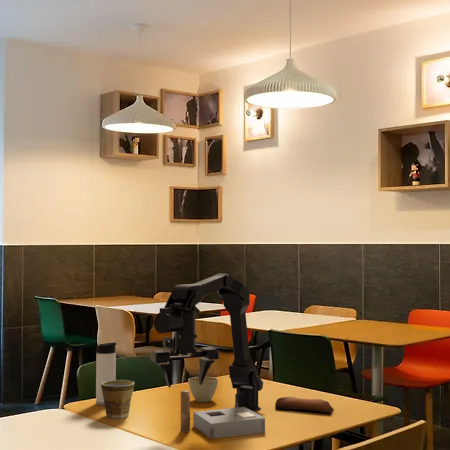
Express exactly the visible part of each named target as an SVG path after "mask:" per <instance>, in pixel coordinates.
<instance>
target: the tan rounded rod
mask: <svg viewBox="0 0 450 450" xmlns="http://www.w3.org/2000/svg"><path fill="white" fill-rule="evenodd" d="M190 431H191V390H187V389H185V390H180V432H182V433H190Z"/></svg>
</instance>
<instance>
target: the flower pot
mask: <svg viewBox="0 0 450 450" xmlns="http://www.w3.org/2000/svg"><path fill="white" fill-rule="evenodd" d="M187 382H188V386H189V389H190V390H189V391H190V394H192V397H193V398H194V400H195V402H197V403H207V402H211V401H212V399H213V397H214V396H215V393H216V390H217V388H218V382H219V379H218V378H217V377H215V376H205V378H204V380H203V383H202V385H199V376H194V377H190V378H188V379H187Z"/></svg>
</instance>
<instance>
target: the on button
mask: <svg viewBox="0 0 450 450" xmlns="http://www.w3.org/2000/svg"><path fill="white" fill-rule="evenodd" d="M237 416H238V417H240V418H242V419H248V418H255V415H253V414H251V413H249V412H245V413H237Z"/></svg>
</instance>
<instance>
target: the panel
mask: <svg viewBox="0 0 450 450" xmlns="http://www.w3.org/2000/svg"><path fill="white" fill-rule="evenodd" d="M245 412H249V413H251V414H253V415H255V418H248V419H242V418H240V417H238V416H237V413H245ZM192 425H193V427H194V428H196V429H197V430H199V432H201V433H203V434H204V435H205V436H207V437H208V438H210V439H212V440H213V439H220V438H230V437H236V436H237V437H238V436H245V435H253V434H254V435H255V434H263V433H266V418H265V417H264V416H262V415H260V414H258V413H256V412H255V411H254V410H249V409H247V408H245V407H238V408H236V407H229V408H222V409H209V410H202V411H200V410H199V411H193V424H192Z"/></svg>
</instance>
